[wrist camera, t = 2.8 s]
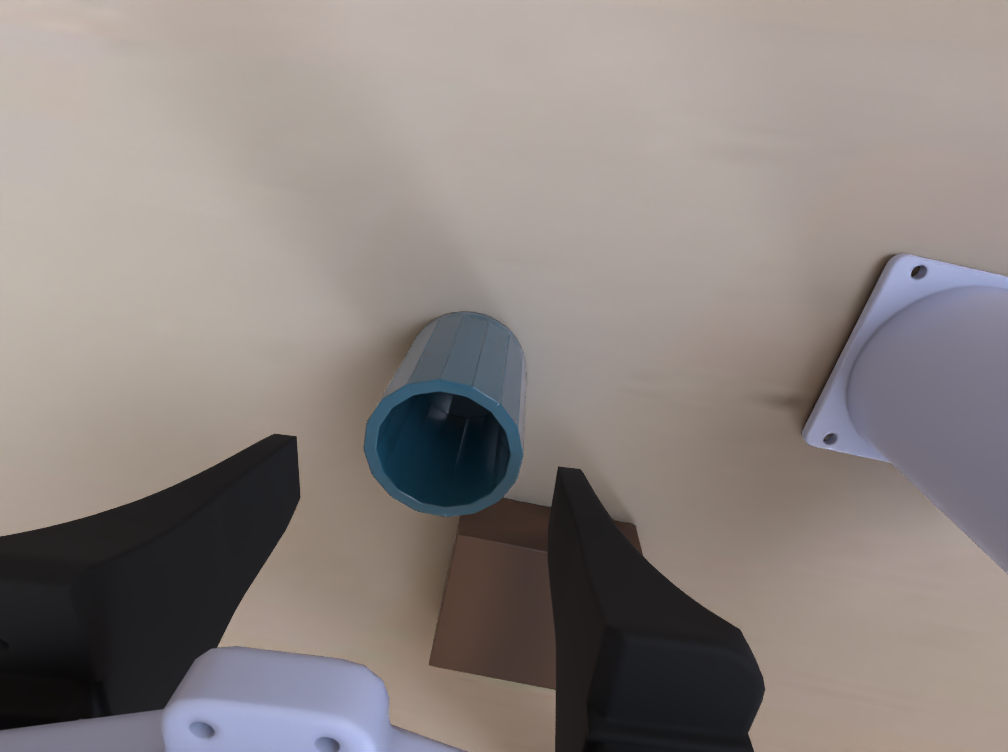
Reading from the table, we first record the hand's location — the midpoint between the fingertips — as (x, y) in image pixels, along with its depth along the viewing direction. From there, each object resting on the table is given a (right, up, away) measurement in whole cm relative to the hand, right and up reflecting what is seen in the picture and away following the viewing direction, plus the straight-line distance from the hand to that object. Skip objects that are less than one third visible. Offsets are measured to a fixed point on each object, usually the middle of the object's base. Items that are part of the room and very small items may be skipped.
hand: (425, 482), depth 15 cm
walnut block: (+4, -7, +12) cm, 14 cm away
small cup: (+1, +3, +8) cm, 8 cm away
